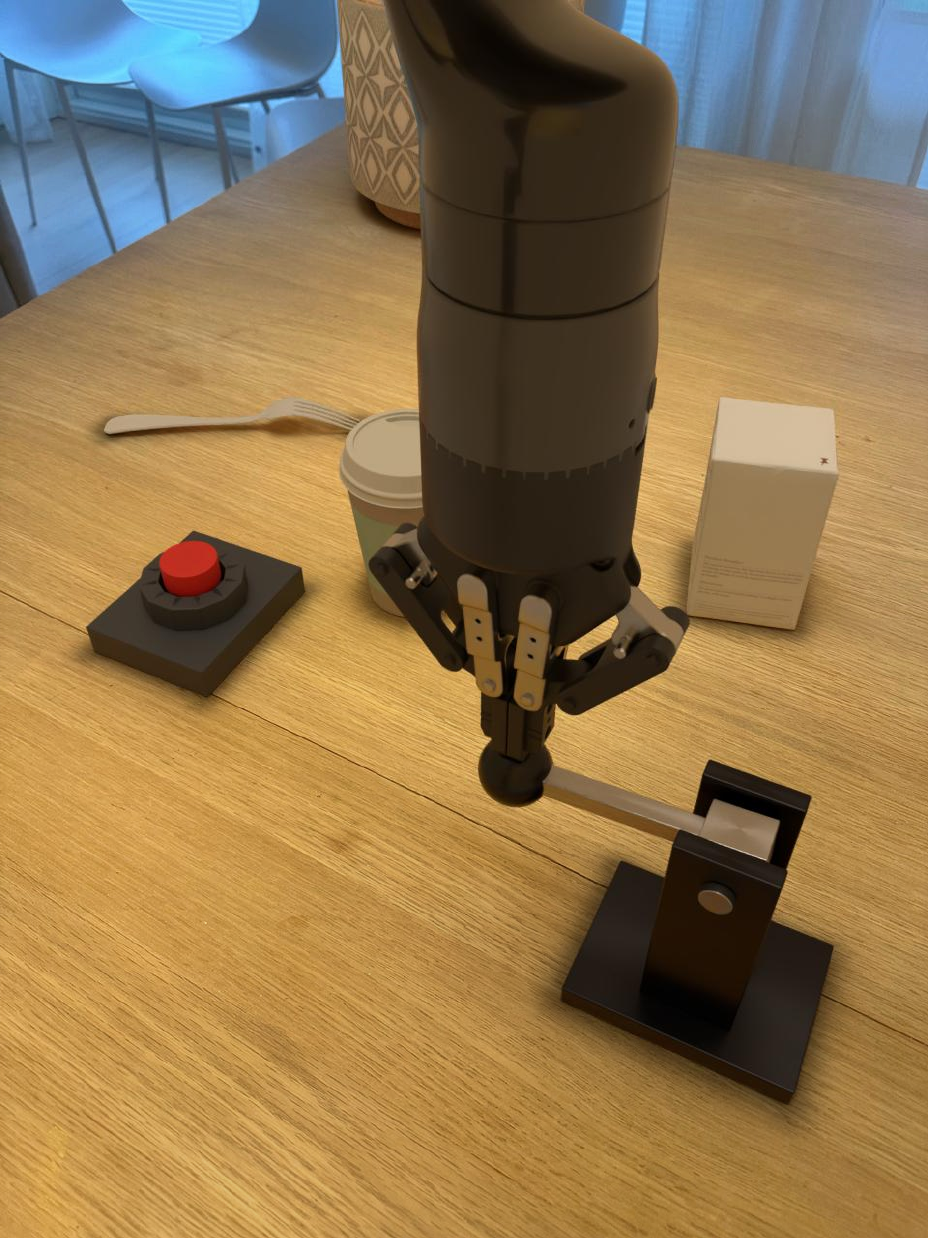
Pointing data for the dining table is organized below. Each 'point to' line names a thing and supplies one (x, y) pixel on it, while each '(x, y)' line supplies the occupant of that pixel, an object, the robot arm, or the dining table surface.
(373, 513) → the coffee cup
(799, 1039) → the bracket
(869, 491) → the dining table surface
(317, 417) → the fork
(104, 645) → the button block
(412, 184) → the planter
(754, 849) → the lever
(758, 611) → the white packaging box
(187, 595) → the button
